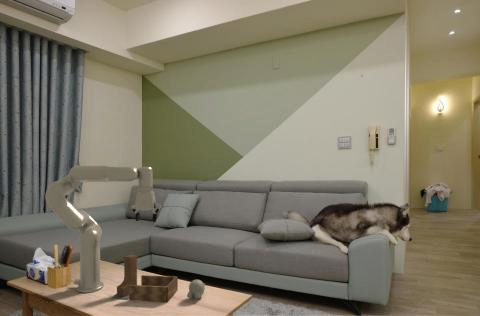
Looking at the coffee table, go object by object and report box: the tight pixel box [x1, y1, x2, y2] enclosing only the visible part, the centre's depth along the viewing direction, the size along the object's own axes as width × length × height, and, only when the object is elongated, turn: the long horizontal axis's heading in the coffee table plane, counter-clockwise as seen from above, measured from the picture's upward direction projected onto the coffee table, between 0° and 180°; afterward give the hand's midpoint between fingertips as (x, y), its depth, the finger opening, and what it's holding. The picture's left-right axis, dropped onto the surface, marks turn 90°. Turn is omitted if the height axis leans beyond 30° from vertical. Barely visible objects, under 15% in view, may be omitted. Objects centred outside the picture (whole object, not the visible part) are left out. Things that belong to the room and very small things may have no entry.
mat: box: [110, 292, 129, 301], centre depth 159 cm, size 9×12×1 cm
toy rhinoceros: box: [186, 279, 206, 300], centre depth 155 cm, size 7×12×8 cm, turn 159°
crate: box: [128, 274, 179, 303], centre depth 157 cm, size 19×14×7 cm
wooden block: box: [116, 254, 138, 297], centre depth 159 cm, size 9×4×18 cm, turn 149°
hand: (146, 220), depth 175 cm, fingers open, 9 cm apart
